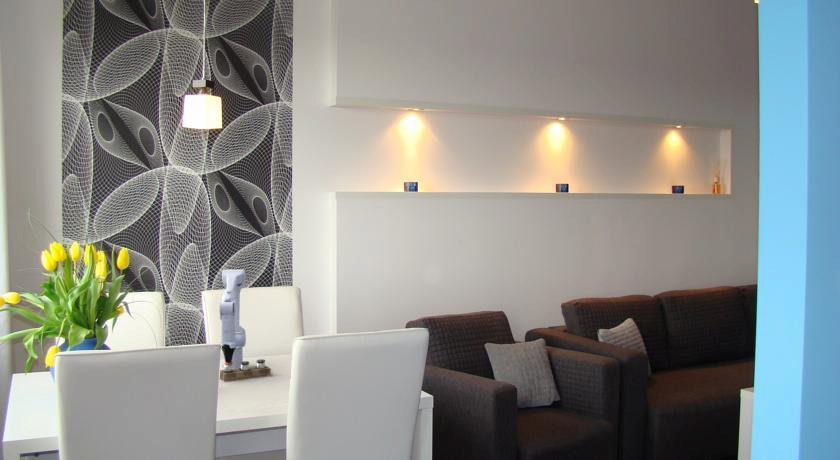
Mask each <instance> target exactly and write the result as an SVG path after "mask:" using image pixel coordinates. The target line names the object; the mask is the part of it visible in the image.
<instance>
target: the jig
mask: <svg viewBox="0 0 840 460" xmlns="http://www.w3.org/2000/svg"><path fill="white" fill-rule="evenodd" d="M270 376H272V368H270V367H269V366H267V365H265V368H263V369H257V365H255V366H249V370H247V371H241V368H236V369H233V372H230V373H225V369H220V378H219V379H220V380H221V381H223V382H232V381H239V380H247V379H254V378H262V377H270Z"/></svg>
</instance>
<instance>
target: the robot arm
mask: <svg viewBox="0 0 840 460" xmlns="http://www.w3.org/2000/svg"><path fill="white" fill-rule="evenodd" d="M221 282H222V284H223V287H224V288H225V289H226V290H224V291H223V292H222V293H223V294H222V298H221V303H219V307H218V308H219V309H218V310H219V311H218V312H219V319H220V344H221V346H222V348H221V347H220V349H221V351H222V353H223V358H224V362H226V363H230V362H231V361H232V362H233V364H232V369H236V368H241V362H243V361H244V360H243V359H244V357H243V354H244V353H243V352H244V351H243V348H244V347H246V343H247V342H246V341H247V337H246V336H247V335H246V330H245V328H244V327H243V326H241V325H240V310H241V309H240V302H241V301H240V298H241V295H240V294H241V291H242V289H244V288H245V286H246V270H245V269H244V268H242V269H223V270H222V271H221ZM222 367H223V368H225V364H222Z"/></svg>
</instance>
